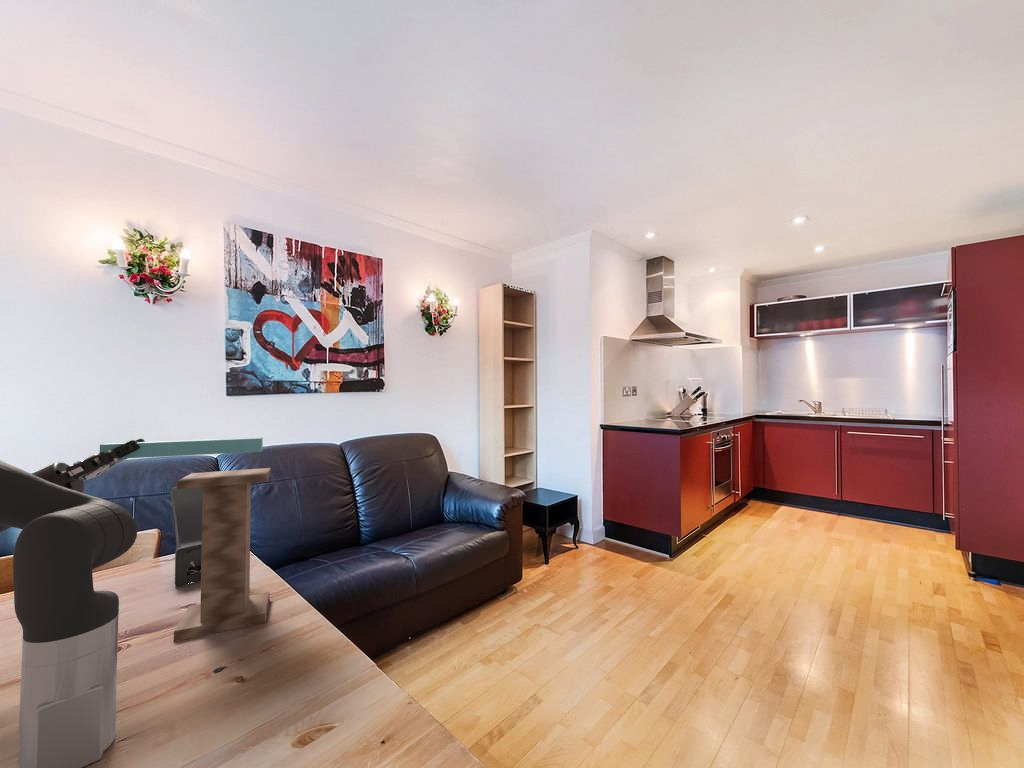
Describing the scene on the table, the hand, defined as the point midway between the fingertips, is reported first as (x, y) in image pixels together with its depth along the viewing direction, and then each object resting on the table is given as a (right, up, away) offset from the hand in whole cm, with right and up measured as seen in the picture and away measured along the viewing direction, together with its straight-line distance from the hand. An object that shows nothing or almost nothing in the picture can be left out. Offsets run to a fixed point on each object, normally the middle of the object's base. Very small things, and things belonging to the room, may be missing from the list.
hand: (140, 443), depth 90 cm
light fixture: (-12, -42, +31) cm, 54 cm away
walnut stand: (+15, -40, +5) cm, 43 cm away
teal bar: (+7, -3, +3) cm, 9 cm away
